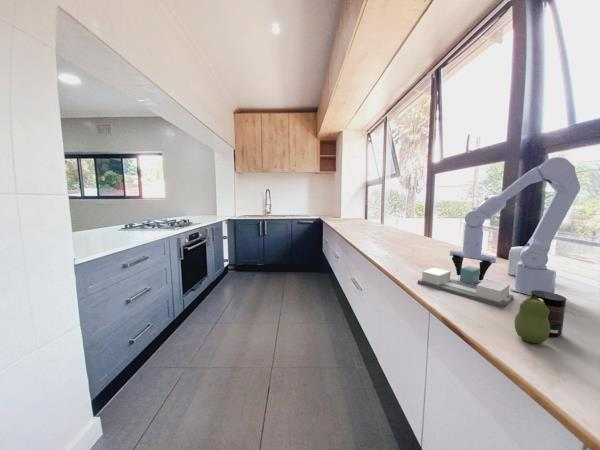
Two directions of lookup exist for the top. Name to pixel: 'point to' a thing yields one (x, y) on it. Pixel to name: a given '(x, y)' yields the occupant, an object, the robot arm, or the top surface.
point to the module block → (469, 275)
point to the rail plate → (468, 287)
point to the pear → (533, 320)
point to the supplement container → (553, 310)
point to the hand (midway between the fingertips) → (469, 277)
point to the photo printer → (513, 260)
